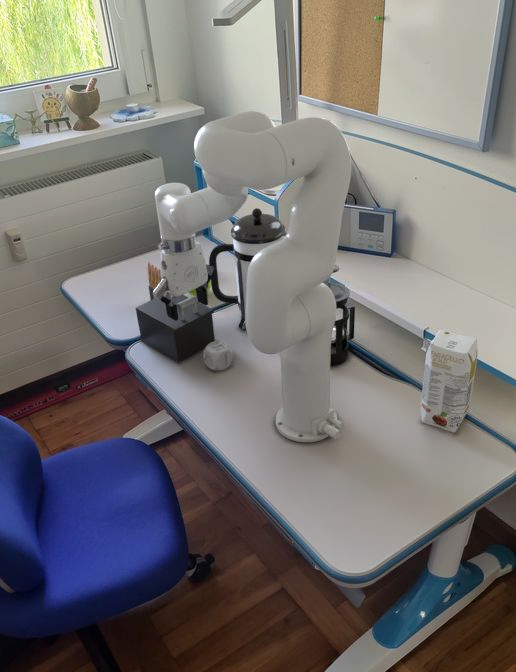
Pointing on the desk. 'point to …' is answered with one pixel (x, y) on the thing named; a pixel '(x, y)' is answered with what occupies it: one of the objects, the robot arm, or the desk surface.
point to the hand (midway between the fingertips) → (188, 310)
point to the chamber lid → (186, 309)
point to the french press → (341, 323)
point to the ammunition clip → (153, 279)
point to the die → (217, 355)
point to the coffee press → (246, 252)
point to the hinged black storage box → (176, 337)
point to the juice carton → (448, 379)
